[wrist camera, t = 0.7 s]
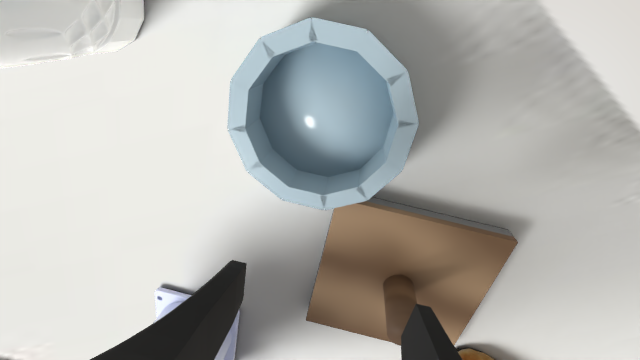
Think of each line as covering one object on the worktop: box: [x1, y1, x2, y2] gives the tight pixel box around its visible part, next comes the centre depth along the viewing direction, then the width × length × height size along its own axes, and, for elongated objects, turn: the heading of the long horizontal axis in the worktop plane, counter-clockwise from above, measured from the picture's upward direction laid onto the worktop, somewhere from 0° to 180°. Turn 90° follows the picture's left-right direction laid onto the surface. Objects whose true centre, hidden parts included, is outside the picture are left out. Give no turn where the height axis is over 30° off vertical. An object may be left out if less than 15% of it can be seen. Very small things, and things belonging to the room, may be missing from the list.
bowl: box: [228, 17, 419, 210], centre depth 17 cm, size 10×10×3 cm
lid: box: [306, 201, 518, 345], centre depth 21 cm, size 12×12×5 cm
